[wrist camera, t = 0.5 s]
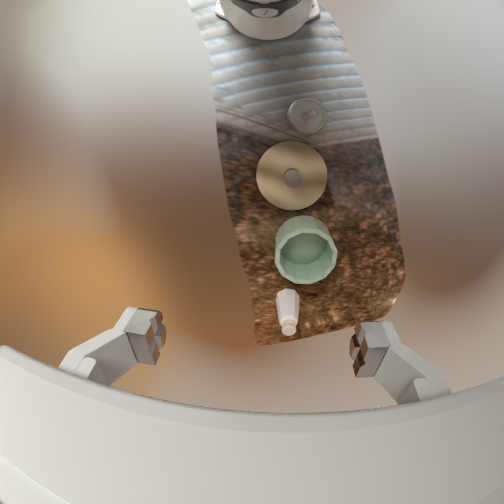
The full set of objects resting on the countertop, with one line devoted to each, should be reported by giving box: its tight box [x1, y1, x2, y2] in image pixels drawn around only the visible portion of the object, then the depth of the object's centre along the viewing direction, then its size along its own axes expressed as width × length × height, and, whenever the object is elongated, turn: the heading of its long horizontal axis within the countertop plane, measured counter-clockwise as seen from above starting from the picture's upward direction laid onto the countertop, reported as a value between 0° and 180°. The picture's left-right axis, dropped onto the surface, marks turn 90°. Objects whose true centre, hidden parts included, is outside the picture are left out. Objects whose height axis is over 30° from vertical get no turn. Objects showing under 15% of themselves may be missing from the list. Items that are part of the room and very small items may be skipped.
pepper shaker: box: [276, 288, 300, 336], centre depth 56 cm, size 5×5×11 cm
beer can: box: [285, 97, 326, 134], centre depth 38 cm, size 5×5×12 cm
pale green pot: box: [275, 215, 338, 284], centre depth 51 cm, size 11×11×7 cm
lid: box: [256, 141, 327, 210], centre depth 47 cm, size 13×13×4 cm
